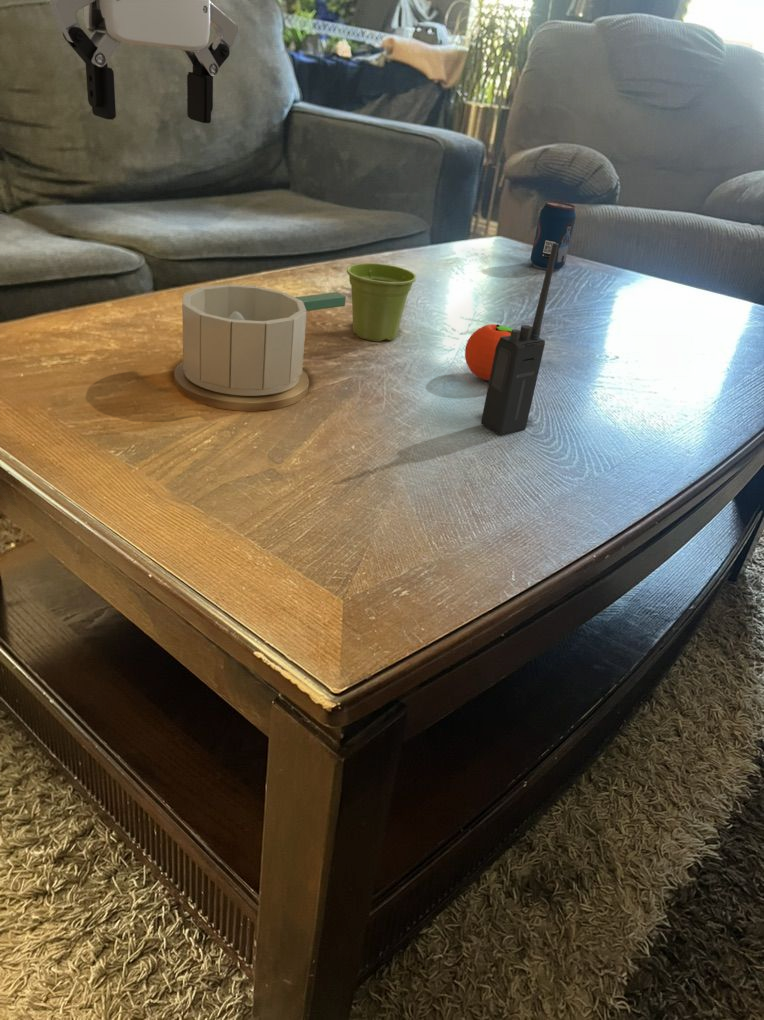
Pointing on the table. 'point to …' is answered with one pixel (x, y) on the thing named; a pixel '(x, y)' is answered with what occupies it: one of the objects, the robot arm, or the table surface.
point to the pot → (247, 337)
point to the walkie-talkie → (516, 370)
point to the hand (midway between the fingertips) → (153, 119)
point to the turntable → (237, 400)
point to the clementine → (484, 349)
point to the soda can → (553, 234)
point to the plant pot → (378, 299)
